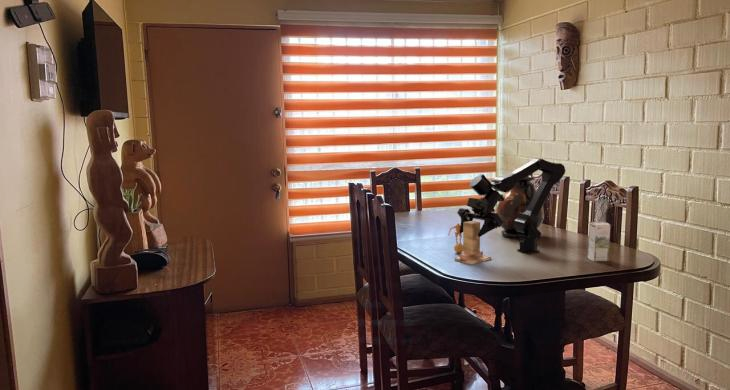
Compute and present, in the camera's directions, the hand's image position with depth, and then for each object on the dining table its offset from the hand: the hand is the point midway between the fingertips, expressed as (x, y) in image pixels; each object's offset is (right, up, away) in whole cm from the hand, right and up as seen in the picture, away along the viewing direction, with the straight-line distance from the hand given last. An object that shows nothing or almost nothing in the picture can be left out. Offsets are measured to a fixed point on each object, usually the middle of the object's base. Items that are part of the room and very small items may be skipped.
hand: (469, 234), depth 207 cm
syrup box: (+49, -10, -1) cm, 50 cm away
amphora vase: (+32, -4, +46) cm, 56 cm away
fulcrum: (+2, -10, +3) cm, 11 cm away
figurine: (-1, -9, +16) cm, 18 cm away
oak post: (+1, -7, +2) cm, 7 cm away
